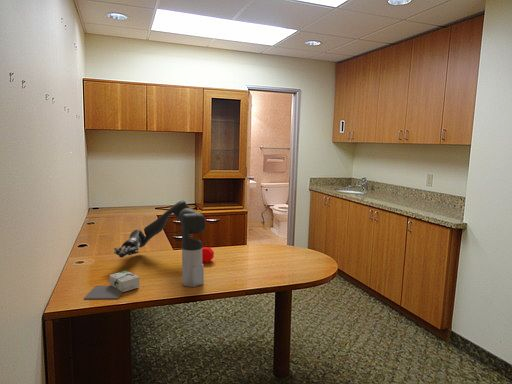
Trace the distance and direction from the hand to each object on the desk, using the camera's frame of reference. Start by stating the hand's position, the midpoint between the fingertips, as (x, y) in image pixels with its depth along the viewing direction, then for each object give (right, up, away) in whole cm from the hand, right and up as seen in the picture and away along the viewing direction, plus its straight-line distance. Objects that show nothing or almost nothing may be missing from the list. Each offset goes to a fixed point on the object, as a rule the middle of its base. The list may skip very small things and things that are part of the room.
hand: (121, 255), depth 182 cm
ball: (+39, -8, +23) cm, 46 cm away
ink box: (+2, -8, -11) cm, 14 cm away
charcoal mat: (+1, -13, -21) cm, 24 cm away
